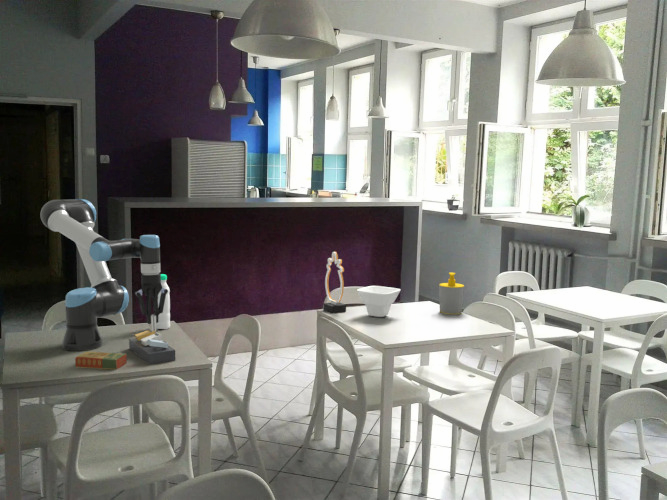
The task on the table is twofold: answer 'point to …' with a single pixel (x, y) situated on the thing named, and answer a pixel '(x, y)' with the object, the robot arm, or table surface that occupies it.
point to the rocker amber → (144, 334)
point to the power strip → (151, 352)
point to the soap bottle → (451, 296)
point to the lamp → (336, 305)
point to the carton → (101, 360)
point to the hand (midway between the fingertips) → (153, 331)
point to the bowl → (378, 299)
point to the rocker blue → (157, 343)
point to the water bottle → (165, 316)
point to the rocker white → (153, 337)
